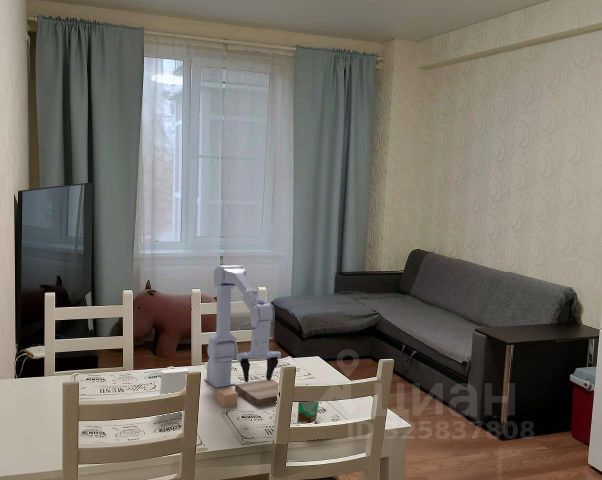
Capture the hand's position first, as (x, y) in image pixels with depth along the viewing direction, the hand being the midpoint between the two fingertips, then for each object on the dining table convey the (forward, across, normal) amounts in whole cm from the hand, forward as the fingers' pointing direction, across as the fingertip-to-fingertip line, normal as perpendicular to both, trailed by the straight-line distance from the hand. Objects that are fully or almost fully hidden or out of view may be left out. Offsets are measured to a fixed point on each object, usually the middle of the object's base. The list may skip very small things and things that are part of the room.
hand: (257, 380), depth 200 cm
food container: (+10, +14, -13) cm, 22 cm away
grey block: (+10, -25, +8) cm, 28 cm away
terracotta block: (+10, -8, +7) cm, 14 cm away
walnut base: (+10, +7, +11) cm, 16 cm away
